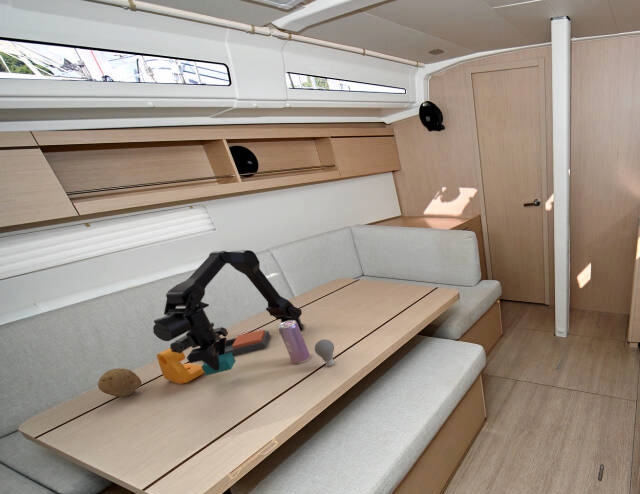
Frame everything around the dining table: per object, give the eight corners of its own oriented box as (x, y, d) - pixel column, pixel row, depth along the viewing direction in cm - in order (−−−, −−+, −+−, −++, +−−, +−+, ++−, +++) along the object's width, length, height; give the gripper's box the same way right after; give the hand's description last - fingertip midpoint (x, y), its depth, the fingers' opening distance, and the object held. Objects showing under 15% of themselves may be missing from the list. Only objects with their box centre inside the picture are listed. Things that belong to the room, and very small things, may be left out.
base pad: (267, 336, 148) (264, 329, 146) (263, 346, 140) (260, 339, 138) (240, 342, 144) (237, 335, 143) (235, 352, 136) (231, 345, 135)
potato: (106, 398, 117) (88, 373, 112) (141, 383, 123) (126, 359, 119) (112, 407, 112) (93, 381, 107) (148, 391, 118) (132, 366, 114)
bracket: (209, 372, 126) (193, 343, 121) (187, 384, 120) (170, 355, 115) (188, 369, 129) (172, 341, 124) (166, 381, 123) (148, 352, 118)
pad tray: (270, 335, 149) (268, 330, 148) (265, 348, 139) (263, 342, 138) (215, 348, 142) (212, 343, 141) (206, 362, 133) (203, 357, 131)
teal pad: (235, 360, 123) (231, 352, 121) (231, 369, 118) (226, 360, 116) (211, 366, 120) (207, 358, 119) (206, 375, 115) (201, 367, 114)
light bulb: (321, 371, 121) (312, 347, 116) (321, 363, 126) (312, 339, 121) (340, 366, 123) (331, 341, 119) (339, 358, 128) (330, 334, 124)
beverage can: (314, 356, 130) (300, 321, 124) (299, 365, 125) (284, 328, 119) (303, 353, 133) (289, 318, 126) (288, 362, 128) (273, 326, 121)
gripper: (178, 320, 117) (200, 359, 124) (154, 345, 101) (180, 388, 108) (218, 311, 121) (237, 350, 127) (200, 334, 105) (223, 377, 112)
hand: (220, 365), depth 119 cm, fingers closed on teal pad, 6 cm apart
